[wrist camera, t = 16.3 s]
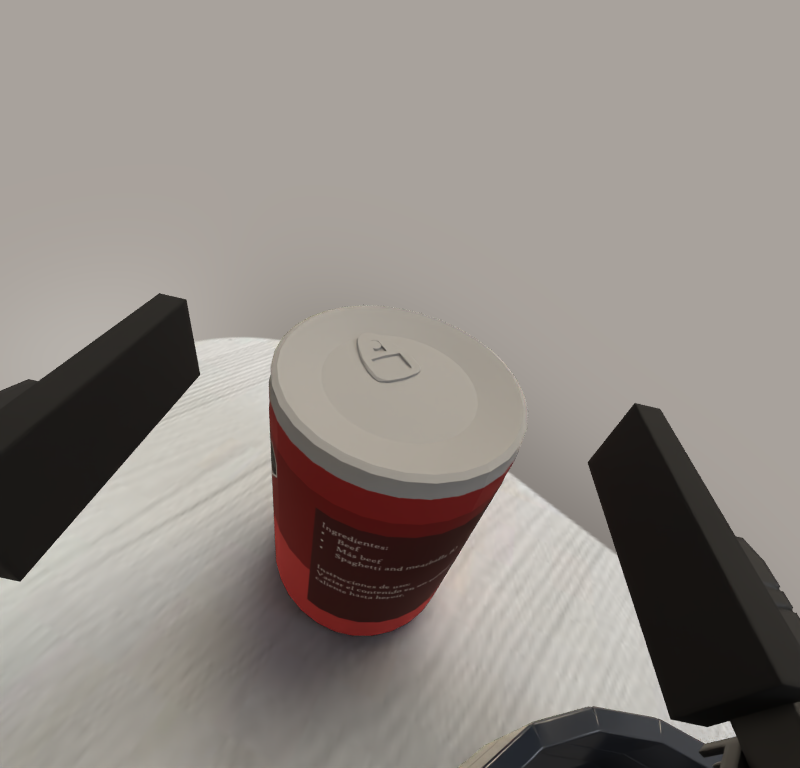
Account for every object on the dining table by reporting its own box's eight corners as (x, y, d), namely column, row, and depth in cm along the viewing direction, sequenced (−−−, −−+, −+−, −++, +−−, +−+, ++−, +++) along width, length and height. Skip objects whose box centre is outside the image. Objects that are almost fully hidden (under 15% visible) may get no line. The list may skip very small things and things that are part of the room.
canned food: (359, 456, 23) (392, 285, 16) (469, 554, 19) (573, 392, 12) (238, 541, 18) (207, 345, 11) (358, 693, 14) (427, 553, 7)
